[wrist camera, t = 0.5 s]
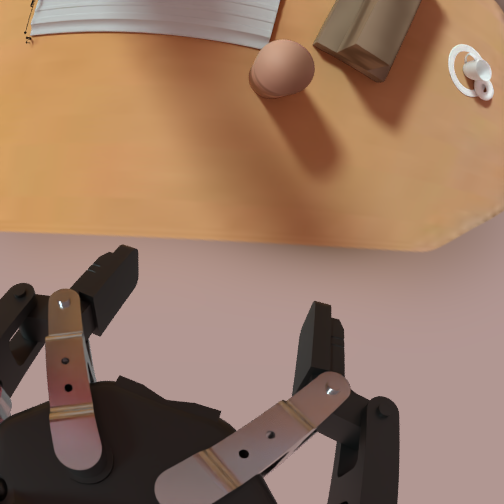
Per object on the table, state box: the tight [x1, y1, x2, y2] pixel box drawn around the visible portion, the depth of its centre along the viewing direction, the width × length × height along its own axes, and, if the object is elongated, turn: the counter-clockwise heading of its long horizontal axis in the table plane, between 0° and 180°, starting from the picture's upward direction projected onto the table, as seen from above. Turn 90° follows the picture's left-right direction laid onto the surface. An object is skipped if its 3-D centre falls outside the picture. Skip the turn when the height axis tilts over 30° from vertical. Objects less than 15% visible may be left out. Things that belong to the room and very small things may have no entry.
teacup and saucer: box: [448, 44, 494, 101], centre depth 30 cm, size 9×8×4 cm
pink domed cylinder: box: [249, 40, 315, 98], centre depth 28 cm, size 5×5×10 cm
